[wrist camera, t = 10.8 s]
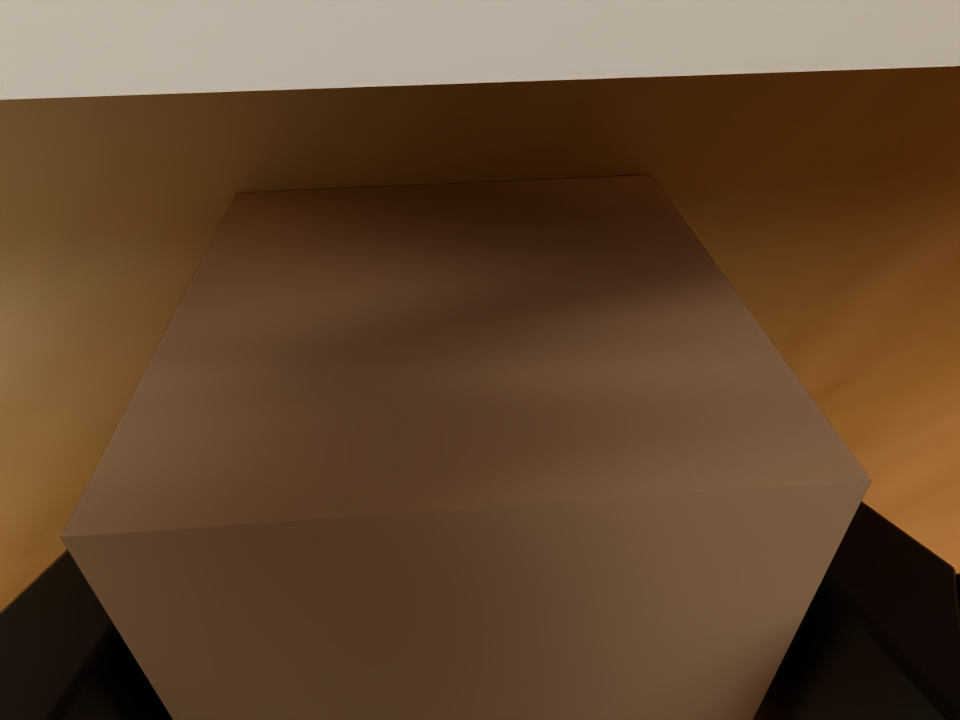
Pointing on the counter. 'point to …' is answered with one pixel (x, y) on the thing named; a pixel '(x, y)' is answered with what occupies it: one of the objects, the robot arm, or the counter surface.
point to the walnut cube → (463, 467)
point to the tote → (447, 42)
